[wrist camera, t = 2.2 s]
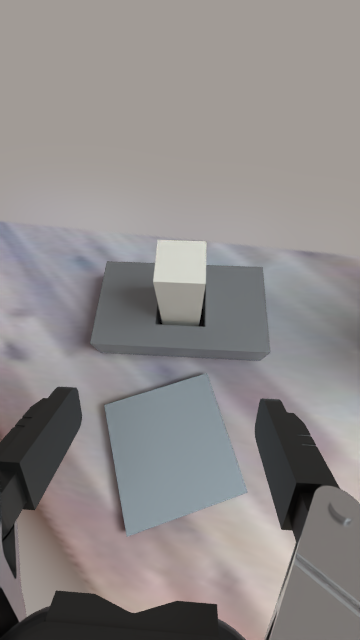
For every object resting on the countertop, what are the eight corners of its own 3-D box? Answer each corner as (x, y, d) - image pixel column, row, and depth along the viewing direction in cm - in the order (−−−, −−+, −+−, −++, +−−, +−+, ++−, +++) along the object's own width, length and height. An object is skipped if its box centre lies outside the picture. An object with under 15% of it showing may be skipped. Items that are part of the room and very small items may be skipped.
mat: (206, 374, 26) (206, 373, 26) (245, 489, 22) (247, 492, 21) (107, 405, 25) (104, 404, 24) (129, 531, 21) (126, 536, 20)
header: (254, 283, 31) (262, 267, 28) (259, 360, 27) (270, 352, 24) (114, 277, 31) (106, 261, 28) (100, 352, 28) (89, 343, 24)
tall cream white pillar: (198, 302, 30) (206, 241, 20) (197, 332, 28) (205, 283, 18) (166, 300, 30) (157, 239, 20) (164, 330, 29) (153, 281, 18)
